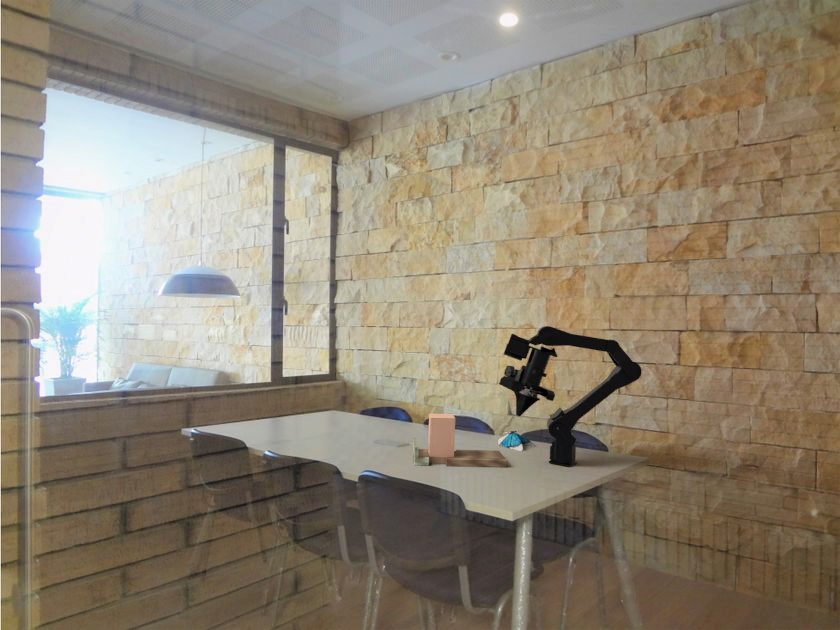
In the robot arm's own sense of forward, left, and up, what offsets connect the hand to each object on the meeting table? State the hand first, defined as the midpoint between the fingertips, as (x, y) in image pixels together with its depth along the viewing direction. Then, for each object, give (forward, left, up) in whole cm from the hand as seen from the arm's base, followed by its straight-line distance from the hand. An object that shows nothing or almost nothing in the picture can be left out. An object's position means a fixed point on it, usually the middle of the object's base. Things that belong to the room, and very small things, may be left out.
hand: (517, 415), depth 171 cm
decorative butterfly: (+9, -17, -14) cm, 24 cm away
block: (+16, +17, -11) cm, 26 cm away
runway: (+12, +13, -13) cm, 22 cm away
